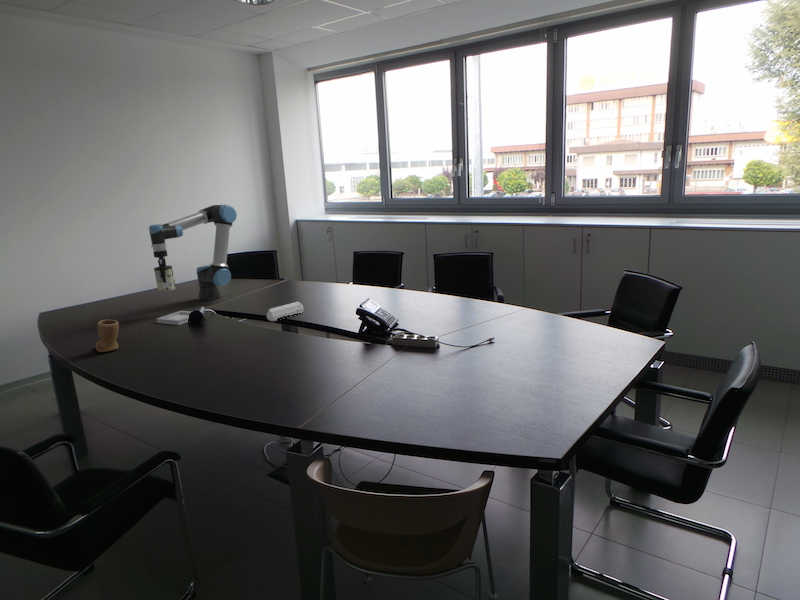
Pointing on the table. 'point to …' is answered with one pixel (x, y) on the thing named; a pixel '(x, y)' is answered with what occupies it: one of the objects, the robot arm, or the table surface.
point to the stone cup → (107, 335)
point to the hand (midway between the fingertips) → (166, 285)
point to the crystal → (284, 311)
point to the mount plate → (175, 318)
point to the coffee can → (168, 275)
